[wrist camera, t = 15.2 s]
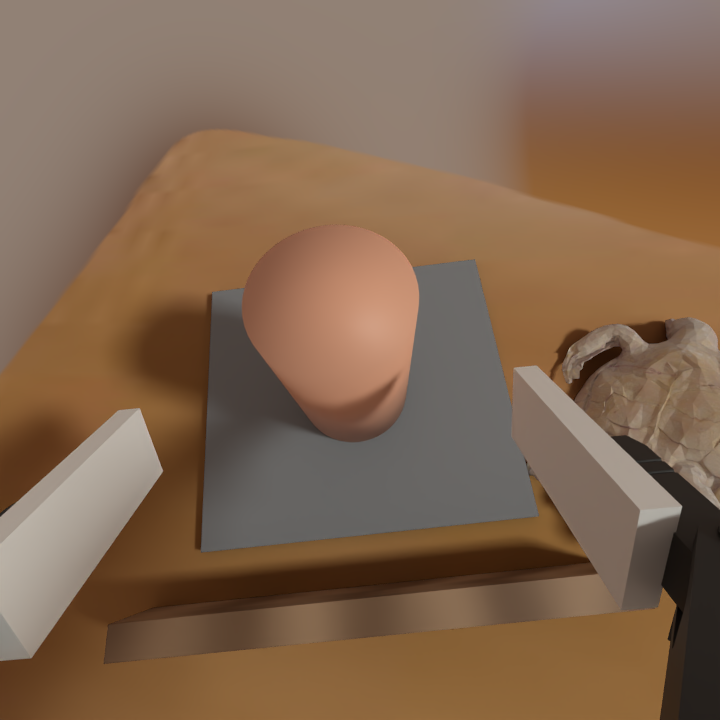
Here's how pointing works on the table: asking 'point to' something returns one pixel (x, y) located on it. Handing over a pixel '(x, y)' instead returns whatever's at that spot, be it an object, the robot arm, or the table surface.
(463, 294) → the mat
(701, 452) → the turtle
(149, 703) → the table surface
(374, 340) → the pink rounded cylinder
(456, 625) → the wooden plank
